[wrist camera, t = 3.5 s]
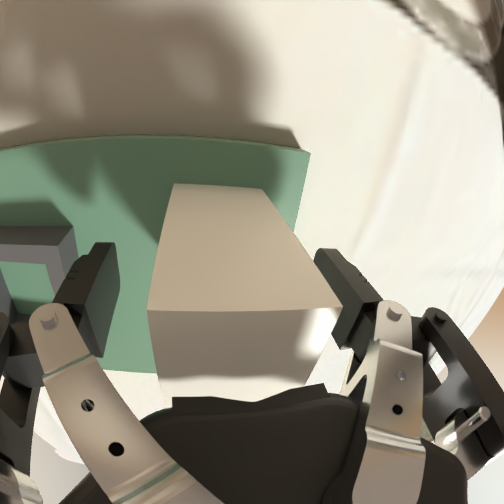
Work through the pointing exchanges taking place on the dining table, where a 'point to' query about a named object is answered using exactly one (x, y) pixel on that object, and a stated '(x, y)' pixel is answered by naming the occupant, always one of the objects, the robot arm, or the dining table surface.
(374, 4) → the dining table surface
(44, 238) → the board
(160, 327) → the plug
